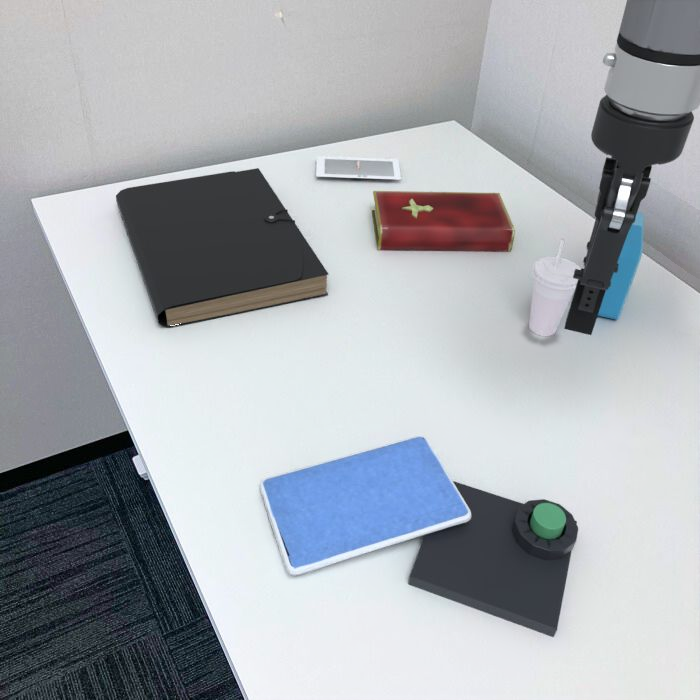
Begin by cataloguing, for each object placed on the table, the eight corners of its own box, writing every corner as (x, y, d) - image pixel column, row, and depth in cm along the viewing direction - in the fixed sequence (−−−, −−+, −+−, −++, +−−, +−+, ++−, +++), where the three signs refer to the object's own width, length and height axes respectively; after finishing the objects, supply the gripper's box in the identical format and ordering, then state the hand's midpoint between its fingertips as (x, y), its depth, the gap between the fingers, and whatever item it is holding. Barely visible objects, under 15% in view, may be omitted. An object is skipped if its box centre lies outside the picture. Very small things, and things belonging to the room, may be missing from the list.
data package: (589, 272, 114) (611, 202, 107) (620, 278, 113) (644, 208, 106) (584, 317, 106) (607, 245, 98) (617, 324, 105) (643, 252, 97)
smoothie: (536, 307, 107) (559, 222, 98) (574, 329, 103) (602, 243, 94) (509, 326, 103) (531, 239, 94) (548, 349, 100) (574, 261, 91)
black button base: (574, 528, 78) (581, 511, 76) (554, 638, 68) (561, 621, 66) (444, 486, 81) (448, 468, 79) (407, 584, 72) (411, 567, 70)
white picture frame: (316, 161, 138) (316, 150, 136) (397, 164, 138) (398, 153, 137) (315, 182, 132) (316, 170, 130) (400, 185, 132) (401, 173, 131)
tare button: (564, 519, 75) (568, 508, 74) (559, 544, 73) (563, 533, 72) (532, 509, 76) (536, 498, 75) (526, 533, 74) (530, 522, 73)
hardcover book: (510, 253, 117) (516, 229, 115) (377, 251, 116) (379, 228, 113) (495, 213, 126) (499, 191, 124) (371, 211, 125) (373, 189, 122)
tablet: (289, 581, 71) (288, 573, 70) (257, 485, 80) (256, 477, 79) (474, 524, 75) (475, 515, 75) (424, 440, 85) (424, 431, 84)
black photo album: (330, 271, 104) (155, 307, 96) (329, 295, 106) (159, 332, 99) (259, 165, 127) (113, 188, 119) (260, 187, 129) (118, 210, 122)
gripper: (608, 69, 67) (550, 285, 82) (594, 124, 57) (531, 357, 72) (696, 83, 65) (620, 301, 80) (696, 143, 55) (610, 377, 71)
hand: (578, 327), depth 76 cm, fingers closed
